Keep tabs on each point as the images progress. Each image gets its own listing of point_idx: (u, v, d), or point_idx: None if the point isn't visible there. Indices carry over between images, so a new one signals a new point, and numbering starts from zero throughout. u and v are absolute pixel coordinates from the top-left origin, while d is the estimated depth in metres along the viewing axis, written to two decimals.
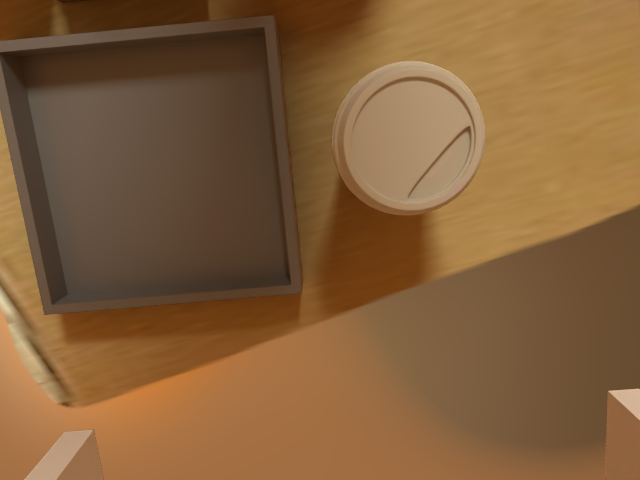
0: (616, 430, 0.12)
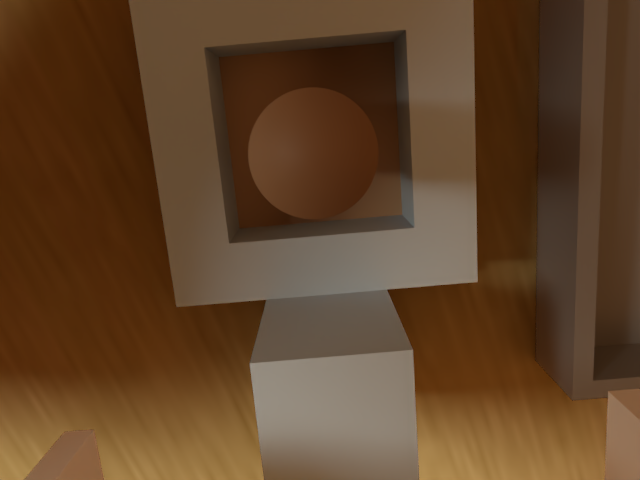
0: (616, 430, 0.12)
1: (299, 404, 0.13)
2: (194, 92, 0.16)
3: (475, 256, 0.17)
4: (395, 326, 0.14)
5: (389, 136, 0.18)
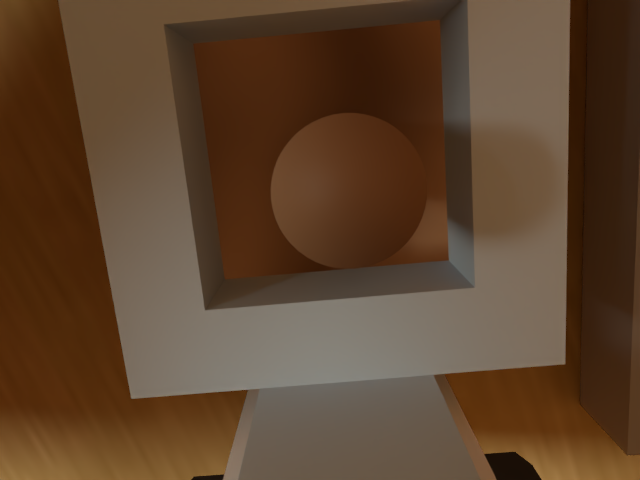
0: None
1: None
2: (151, 92, 0.10)
3: (563, 328, 0.12)
4: (459, 459, 0.09)
5: (421, 159, 0.17)
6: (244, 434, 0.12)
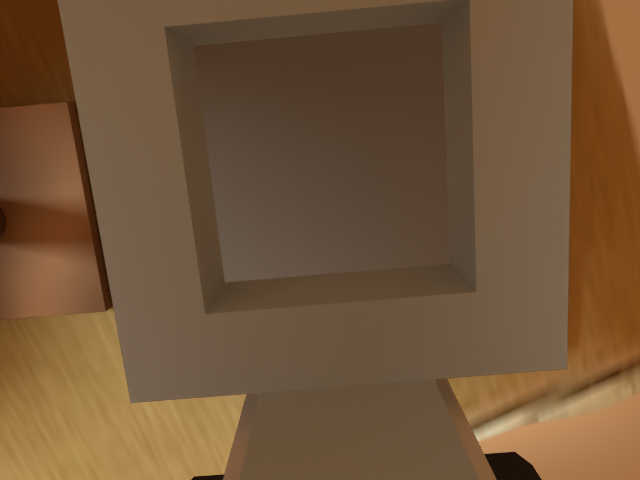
0: None
1: None
2: (152, 95, 0.10)
3: (564, 332, 0.11)
4: (461, 467, 0.09)
5: (34, 218, 0.27)
6: (244, 434, 0.12)
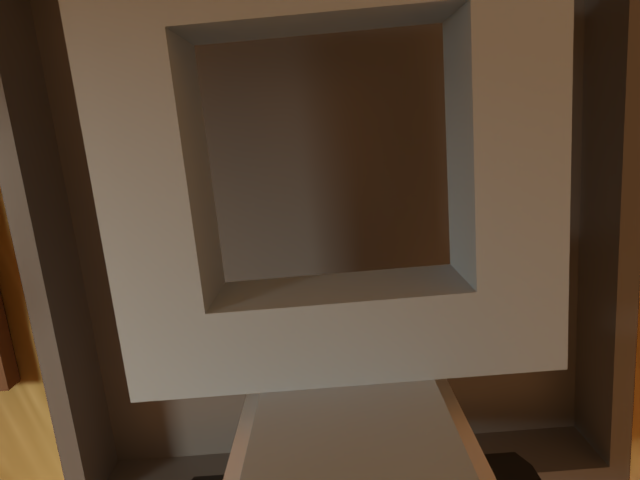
0: None
1: None
2: (152, 95, 0.10)
3: (565, 333, 0.11)
4: (461, 466, 0.09)
5: None
6: (244, 434, 0.12)
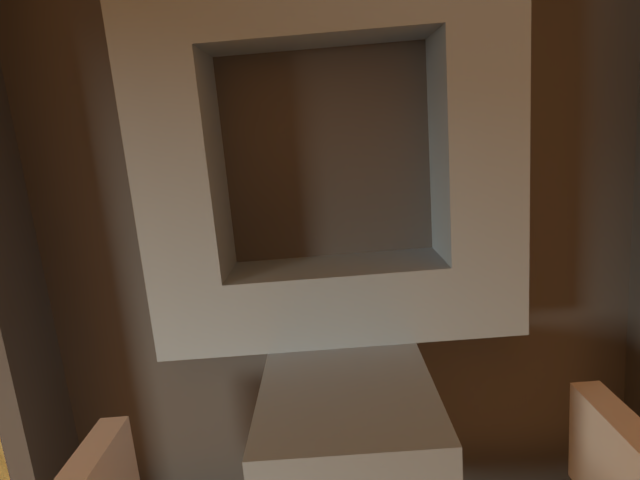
0: (577, 419, 0.13)
1: None
2: (180, 100, 0.12)
3: (526, 303, 0.14)
4: (432, 403, 0.11)
5: None
6: None
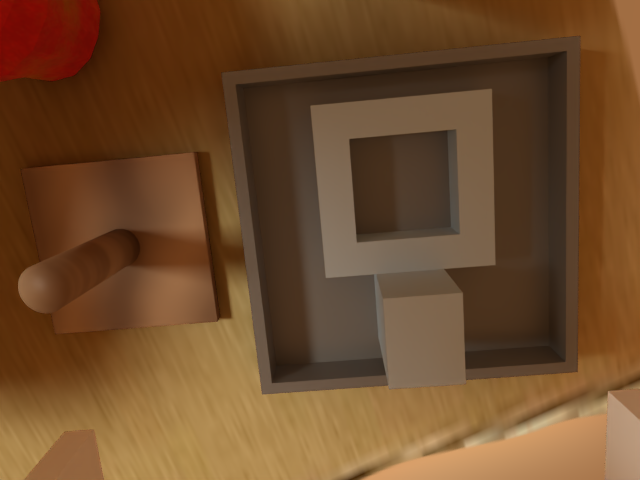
0: (616, 430, 0.12)
1: (406, 319, 0.26)
2: (342, 162, 0.29)
3: (494, 250, 0.30)
4: (451, 284, 0.27)
5: (162, 245, 0.33)
6: None
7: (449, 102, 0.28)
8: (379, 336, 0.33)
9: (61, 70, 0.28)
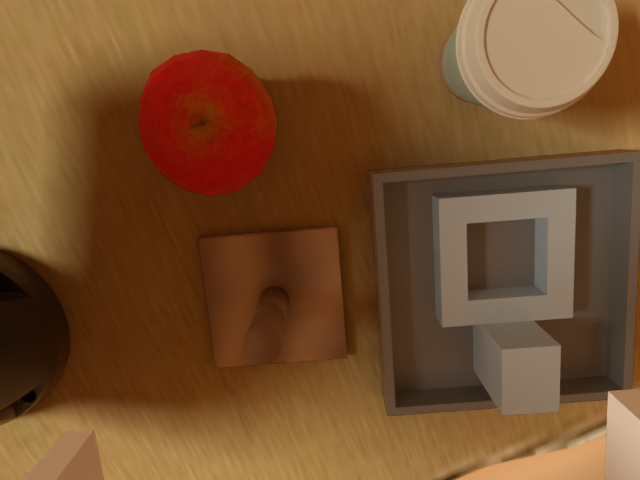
0: (616, 430, 0.12)
1: (518, 364, 0.35)
2: (460, 240, 0.38)
3: (572, 307, 0.39)
4: (548, 336, 0.37)
5: (307, 299, 0.42)
6: None
7: (544, 197, 0.38)
8: (478, 370, 0.42)
9: None
